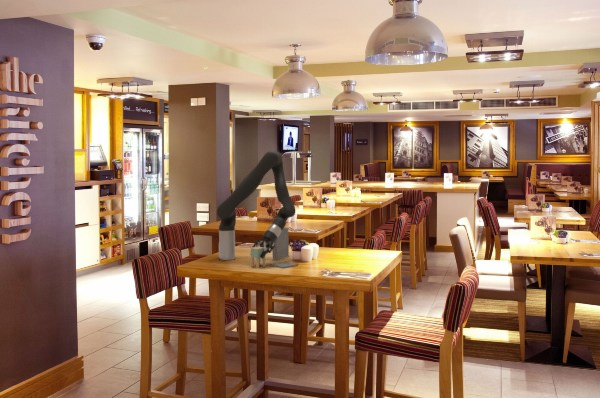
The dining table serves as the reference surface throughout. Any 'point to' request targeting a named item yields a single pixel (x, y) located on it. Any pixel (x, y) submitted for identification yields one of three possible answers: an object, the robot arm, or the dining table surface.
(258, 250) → the stool
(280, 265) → the slate mat
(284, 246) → the hip flask
